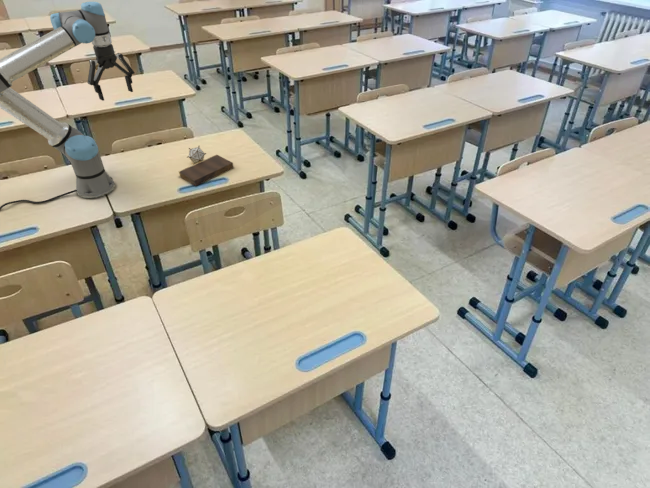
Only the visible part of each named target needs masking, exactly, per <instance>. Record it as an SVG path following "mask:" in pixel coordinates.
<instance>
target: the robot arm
mask: <svg viewBox="0 0 650 488" xmlns="http://www.w3.org/2000/svg"><path fill="white" fill-rule="evenodd" d="M49 18H50V19H49V20H50V24H51V26H52V28H53V29H52V30H51V31H50V32H48V33H46V34H44V35H42V36H40V37H38V38H36V39H35V40H33V41H31V42H28V43H27V44H25V45H24V46H22V47H20V48H18V49H16V50H14V51H12V52H10V53H8V54H7V55H4V56H3V57H1V58H0V109H1V110H2V111H4V112H5V113H7V114H9V115H10V116H12V117H13V118H15V119H16V120H18V121H19V122H21V123H22V124H24V125H26V126H27V127H28V128H30V129H31V130H33V131H35V132H36V133H38V134H39V135H40V136H42V137H44V138H45V139H47V144H48V145H49V146H51V147H52V148H54V149H55V150H56V151H58V152H60V153H62V155H64V156H65V158H66V159H67V160H68V161H69V162H70V165H71V168H72V170H73V172H74V175H75V178H76V179H75V185H76V186H75V189H74V190H71V191H67V192H64V193H62V194H59V195H56V196H53V197H52V198H49V199H45V200H41V201H35V200H30V199H19V200H13V201H12V200H11V201H8V202H6V203H3V204H2V205H1V206H0V211H1V210H2V209H3V208H4V207H6V206H8V205H11V204H16V203H17V204H18V203H23V202H26V203H30V204H44V203H48V202H50V201H53V200H56V199H59V198H60V197H65V196H67V195H70V194H73V193H75V192H76V193H77V195H78V196H79V197H80V198H83V199H97V198H98V199H99V198H102V197H105V196H107V195H109V194H110V193H112V192H113V191H114V189H115V187H116V186H115V182H114V179H113V177H111V176H110V175H109V173H108V172H107V171H106V168H105V166H104V163H103V160H102V156H101V154H100V151H99V147H98V143H96V141H95V139H94V138H93V137H91V136H89V135H84V133H82V131H81V130H79V129H78V128H76V127H73V126H71V125H70V124H69V123H67V122H60V121H59V120H57V119H55V118H54V117H53V116H51V115H50V114H49V113H48V112H46V111H45V110H43V109H41V108H40V107H39V106H37V105H36V104H35V103H33V102H32V101H30V100H29V99H27V98H26V97H25V96H23V95H22V94H20V93H19V92H18V91H16V90H15V89H14V88H12V87H13V83H14V82H15V81H17V80H18V79H20V78H22V77H24V76H25V75H28V74H30V73H31V72H33V71H35V70H36V69H38V68H40V67H42V66H43V65H45V64H47V63H49V62H51V61H52V60H54V59H56V58H57V57H59V56H62V55H63V54H65V53H67V52H68V51H70V50H72V49H74V48H75V47H77V46H79V45H81V44H91V45H92V49H93V51H94V55H95V59H91V58H90V59H89V60H88V64H89V70H88V75H87V77H88V78H87V84H88V85H90V86H92V87H93V89H94V92H95V93H96V94H97V95H98V98H99V100H100V101H102V102H104V101H105V97H104V95H103V90H102V87H101V85H100V84H99V83H100V80H101V78H102V76H103V73H104V72H105V70H109V69H111V68H114V67H115V68H116V69H117V70H119V71H120V72H121V73H123V74H124V80H125V83H126V88H127V91H128V92H130V93H133V92H134V90H133V86H132V84H133V79H132V77H133V75H134V74H135V71H134V69H133V68H132V67H131V66H130V64H129V63H128V61H127V60H126V59H125V57H124V55H123V53H120V52H117V53H116V54H115V49H114V45H113V44H112V42H113V41H112V37H111V34H110V31H109V26H108V23H107V18H106V14H105V11H104V9H103V5H102V4H101V3H100V2H98V1H86V2H82V3H81V4H80V9H76V10H70V11H61V12H60V11H59V12H56V13H51V14H50V17H49ZM117 60H119V61H120V63H121V64H122V65H123V66H124V67H123V66H121V65H120V64H119V63H118V62H117ZM97 64H98V66H97ZM96 68H97V70H96Z"/></svg>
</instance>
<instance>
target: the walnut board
mask: <svg viewBox="0 0 650 488" xmlns="http://www.w3.org/2000/svg"><path fill="white" fill-rule="evenodd" d="M193 164H194V163H193ZM193 164H192V165H189V166H188V167H185V168H183V169H181V170H179V171H178V175H179V178H181V179H183V180H184V181H186V182H188V183H189V184H191V185H192V186H194V187H197V186H199V185H201V184H203V183H205V182H207V181H210V180H212V179H214V178H217V177H219V176H220V175H222V174H224V173H227V172H228V171H230V170H233V169H234V163H233V162H232V161H230V160H229V159H227V158H224V157H223V156H221V155H219V154H215V155H212V156H210V157H208V158H205V159H203V161H201V162H199V163H195V164H194V165H193Z"/></svg>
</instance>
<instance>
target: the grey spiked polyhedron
mask: <svg viewBox="0 0 650 488" xmlns="http://www.w3.org/2000/svg"><path fill="white" fill-rule="evenodd" d="M188 150H189V151H188V156H186V158H188V159H189V160H190V161H191V162H192V163H193V164H192V165H194V164H196V163H199V162H201V161H203V160H205V159H204V158H205V155H207V153H206V152H204V151H203V149H201V147H200V145H198V146H197V147H193V148H190V147H188Z"/></svg>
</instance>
